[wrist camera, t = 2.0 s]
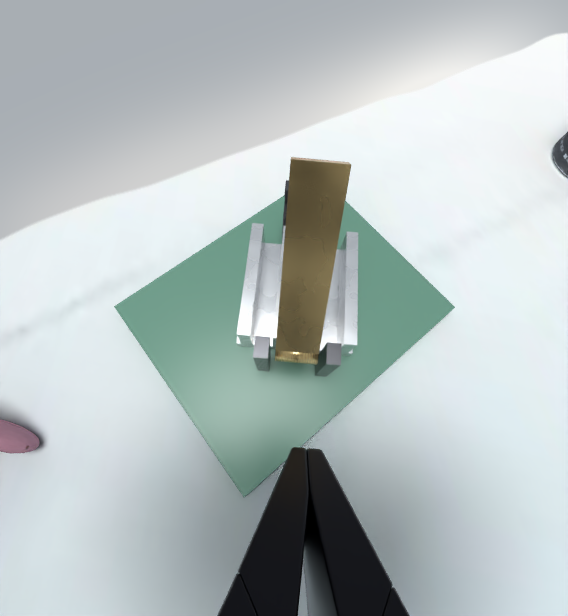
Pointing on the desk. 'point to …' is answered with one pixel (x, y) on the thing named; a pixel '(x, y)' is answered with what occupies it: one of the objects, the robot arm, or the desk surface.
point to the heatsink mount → (266, 295)
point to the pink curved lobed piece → (16, 438)
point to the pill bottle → (562, 154)
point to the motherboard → (282, 375)
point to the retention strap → (309, 255)
